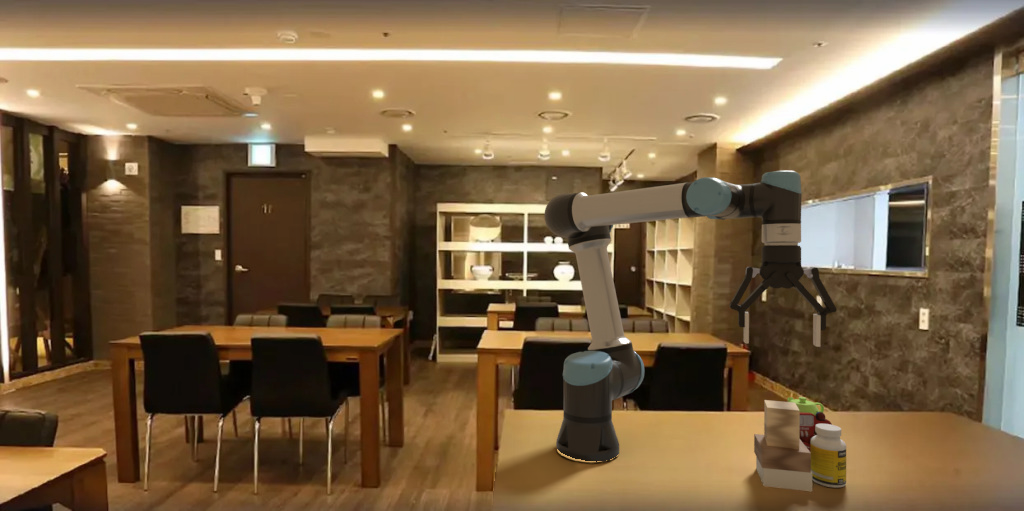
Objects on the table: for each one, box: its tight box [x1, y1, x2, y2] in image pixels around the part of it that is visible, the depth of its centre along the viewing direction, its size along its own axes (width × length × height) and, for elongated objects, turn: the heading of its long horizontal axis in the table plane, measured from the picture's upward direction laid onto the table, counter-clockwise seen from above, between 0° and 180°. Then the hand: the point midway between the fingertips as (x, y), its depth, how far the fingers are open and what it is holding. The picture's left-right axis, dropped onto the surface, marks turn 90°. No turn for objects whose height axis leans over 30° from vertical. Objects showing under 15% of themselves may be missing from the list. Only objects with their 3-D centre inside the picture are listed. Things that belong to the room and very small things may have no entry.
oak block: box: [763, 399, 800, 449], centre depth 111 cm, size 6×6×8 cm
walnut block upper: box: [753, 433, 811, 473], centre depth 111 cm, size 9×9×4 cm
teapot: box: [787, 396, 827, 419], centre depth 143 cm, size 11×12×8 cm
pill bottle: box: [810, 423, 847, 489], centre depth 110 cm, size 6×6×12 cm
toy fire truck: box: [799, 412, 833, 451], centre depth 124 cm, size 7×12×10 cm, turn 87°
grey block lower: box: [755, 455, 813, 492], centre depth 111 cm, size 9×9×4 cm
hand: (780, 344), depth 112 cm, fingers open, 13 cm apart
